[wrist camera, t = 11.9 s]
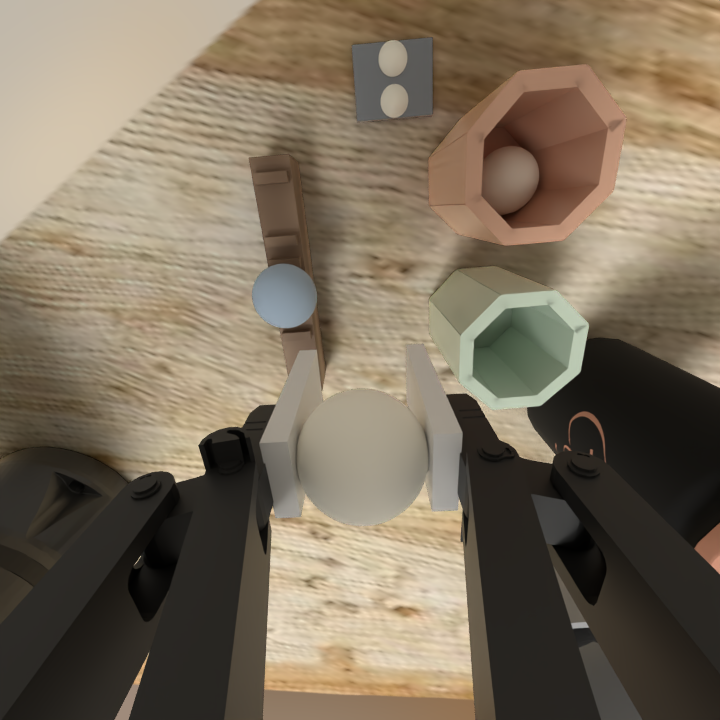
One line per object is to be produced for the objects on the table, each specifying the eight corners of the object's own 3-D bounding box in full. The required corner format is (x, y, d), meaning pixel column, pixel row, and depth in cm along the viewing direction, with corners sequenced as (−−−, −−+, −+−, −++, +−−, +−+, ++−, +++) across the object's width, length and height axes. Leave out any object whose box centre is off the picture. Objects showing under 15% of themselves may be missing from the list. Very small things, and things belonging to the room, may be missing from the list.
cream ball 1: (313, 465, 13) (294, 561, 10) (299, 370, 12) (271, 444, 8) (418, 459, 13) (439, 556, 10) (418, 363, 12) (444, 435, 8)
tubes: (374, 362, 31) (382, 418, 22) (351, 47, 22) (351, -49, 14) (514, 350, 31) (574, 403, 22) (546, 29, 22) (663, -79, 14)
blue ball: (266, 320, 25) (252, 339, 21) (255, 262, 23) (237, 272, 20) (323, 315, 25) (317, 334, 21) (315, 257, 23) (308, 266, 20)
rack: (298, 371, 31) (290, 397, 27) (264, 165, 25) (245, 156, 20) (325, 369, 31) (321, 395, 27) (298, 162, 25) (287, 152, 20)
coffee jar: (508, 360, 31) (688, 533, 14) (633, 314, 30) (991, 447, 13) (533, 450, 35) (695, 668, 18) (644, 414, 34) (929, 614, 17)
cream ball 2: (456, 211, 25) (495, 225, 22) (465, 145, 23) (510, 152, 20) (500, 203, 26) (543, 216, 23) (513, 141, 24) (562, 146, 21)
